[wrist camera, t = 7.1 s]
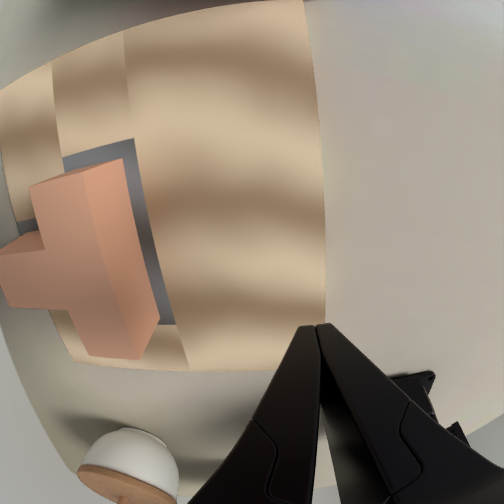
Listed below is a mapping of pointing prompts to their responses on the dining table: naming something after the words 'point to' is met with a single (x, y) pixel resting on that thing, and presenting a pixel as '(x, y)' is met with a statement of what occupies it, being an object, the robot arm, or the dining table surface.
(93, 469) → the lidded jar
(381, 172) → the dining table surface
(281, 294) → the board
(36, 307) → the t block
